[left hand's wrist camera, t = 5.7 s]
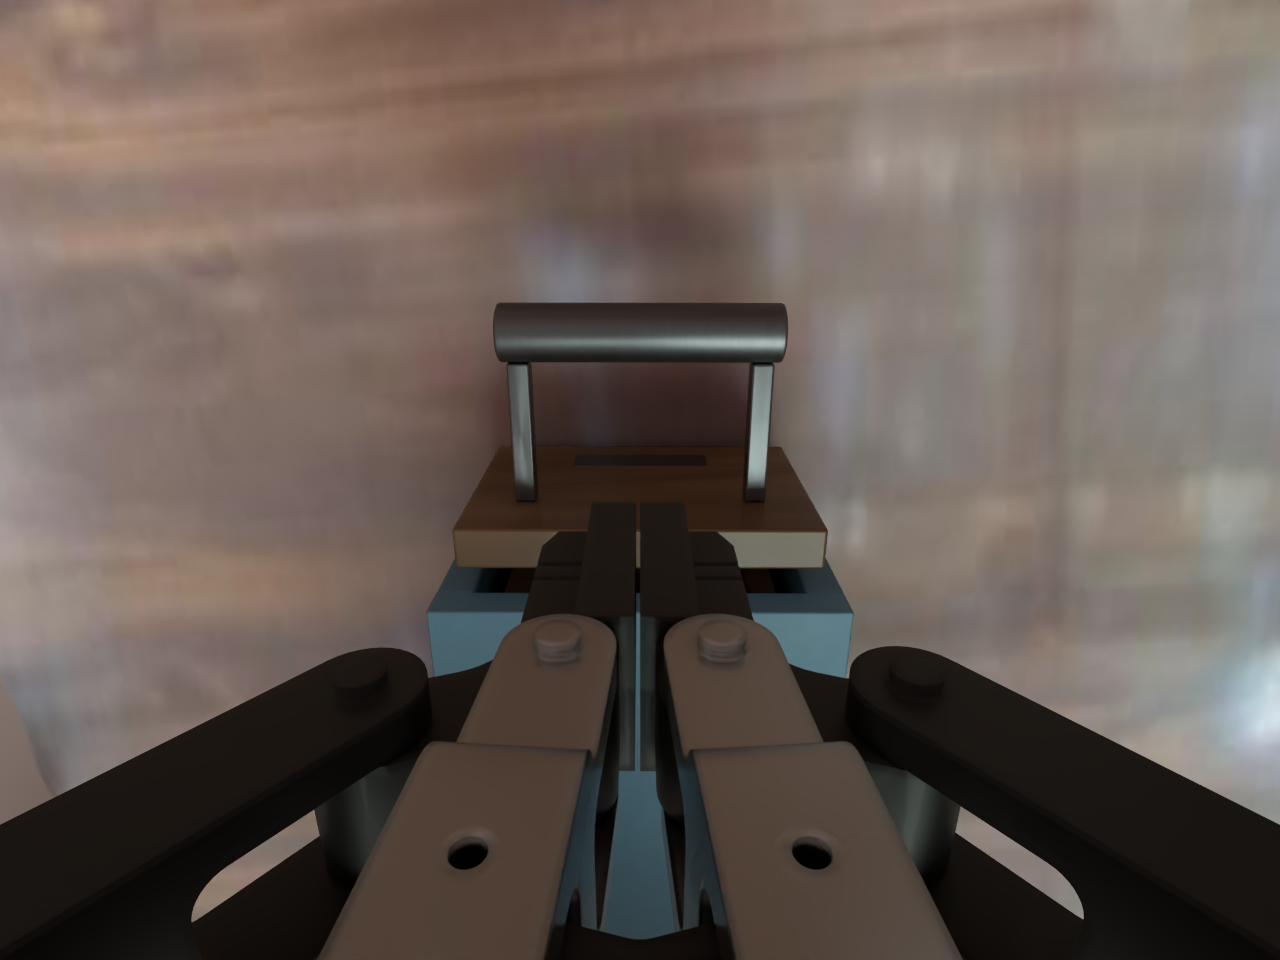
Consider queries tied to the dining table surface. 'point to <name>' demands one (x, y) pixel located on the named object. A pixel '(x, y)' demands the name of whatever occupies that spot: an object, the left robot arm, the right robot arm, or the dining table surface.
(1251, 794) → the dining table surface
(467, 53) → the dining table surface
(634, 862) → the blue box
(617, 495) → the drawer
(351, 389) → the dining table surface
